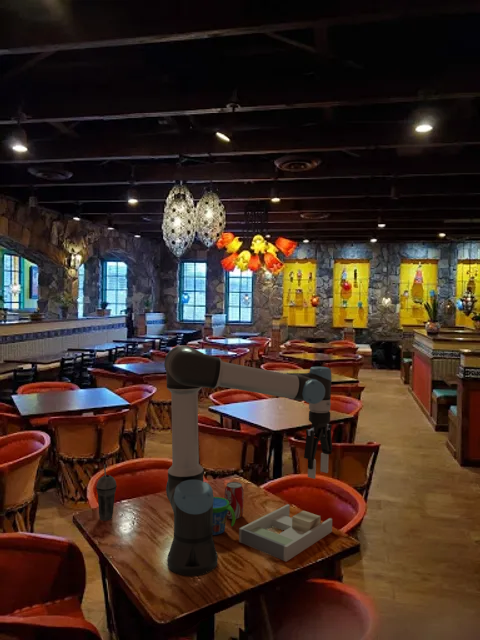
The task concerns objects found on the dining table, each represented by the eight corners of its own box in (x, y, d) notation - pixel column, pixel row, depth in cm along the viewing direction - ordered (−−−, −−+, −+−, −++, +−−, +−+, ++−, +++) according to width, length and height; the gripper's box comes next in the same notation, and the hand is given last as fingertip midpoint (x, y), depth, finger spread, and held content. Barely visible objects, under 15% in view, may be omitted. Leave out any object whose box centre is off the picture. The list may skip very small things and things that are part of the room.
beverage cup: (120, 516, 181) (121, 462, 181) (106, 524, 175) (107, 468, 174) (105, 512, 184) (106, 459, 184) (91, 519, 178) (92, 464, 178)
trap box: (286, 561, 151) (286, 547, 151) (238, 541, 163) (239, 528, 163) (331, 531, 173) (332, 518, 172) (287, 516, 185) (287, 504, 185)
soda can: (242, 520, 180) (243, 488, 180) (223, 520, 180) (224, 487, 180) (243, 512, 187) (243, 481, 187) (224, 512, 187) (225, 481, 187)
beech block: (309, 534, 164) (309, 522, 164) (292, 528, 169) (292, 516, 169) (320, 527, 170) (320, 516, 170) (303, 521, 174) (303, 510, 174)
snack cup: (186, 531, 170) (186, 502, 170) (204, 520, 179) (204, 492, 179) (224, 543, 162) (224, 512, 162) (240, 531, 171) (241, 502, 171)
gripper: (313, 416, 164) (311, 484, 164) (343, 408, 179) (341, 470, 180) (294, 413, 168) (292, 479, 169) (325, 405, 184) (323, 465, 185)
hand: (318, 474), depth 174 cm, fingers open, 8 cm apart
